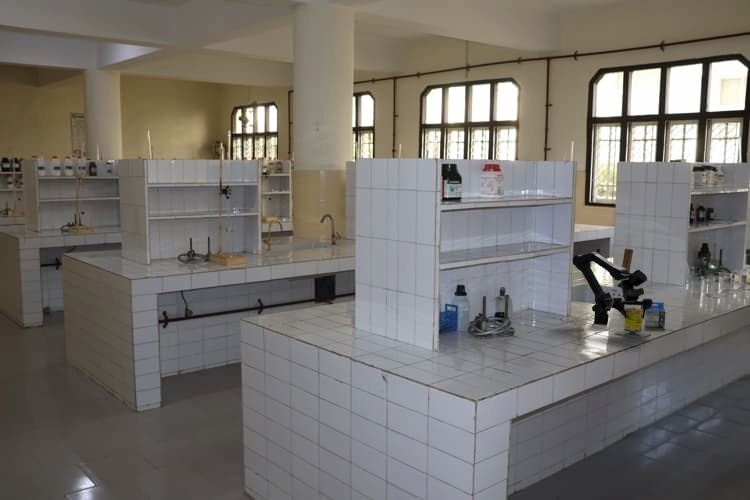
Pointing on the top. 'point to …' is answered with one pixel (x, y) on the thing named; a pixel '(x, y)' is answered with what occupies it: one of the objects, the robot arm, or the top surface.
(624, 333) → the mat
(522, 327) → the top surface
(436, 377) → the top surface
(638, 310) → the supplement box
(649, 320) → the label tape box
